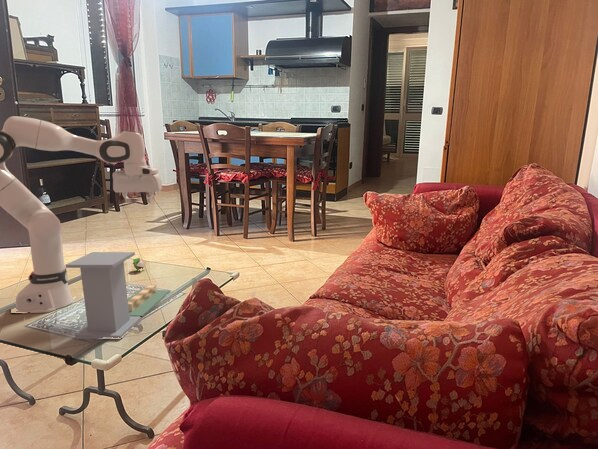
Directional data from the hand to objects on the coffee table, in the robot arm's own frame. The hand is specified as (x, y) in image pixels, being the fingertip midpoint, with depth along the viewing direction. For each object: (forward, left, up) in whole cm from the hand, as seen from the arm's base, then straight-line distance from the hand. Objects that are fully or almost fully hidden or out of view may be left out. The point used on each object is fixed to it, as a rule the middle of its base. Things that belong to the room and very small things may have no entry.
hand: (138, 202), depth 190 cm
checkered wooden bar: (-1, -16, -38) cm, 42 cm away
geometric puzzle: (-6, +32, -39) cm, 51 cm away
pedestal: (-10, -40, -39) cm, 57 cm away
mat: (-1, -16, -39) cm, 42 cm away
